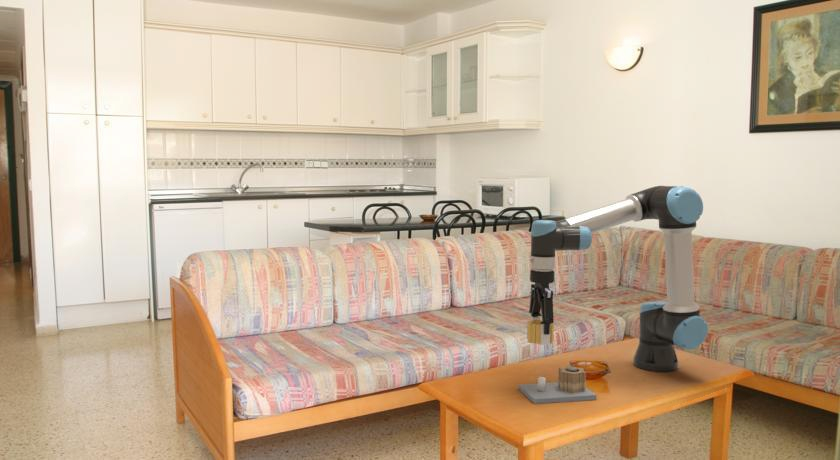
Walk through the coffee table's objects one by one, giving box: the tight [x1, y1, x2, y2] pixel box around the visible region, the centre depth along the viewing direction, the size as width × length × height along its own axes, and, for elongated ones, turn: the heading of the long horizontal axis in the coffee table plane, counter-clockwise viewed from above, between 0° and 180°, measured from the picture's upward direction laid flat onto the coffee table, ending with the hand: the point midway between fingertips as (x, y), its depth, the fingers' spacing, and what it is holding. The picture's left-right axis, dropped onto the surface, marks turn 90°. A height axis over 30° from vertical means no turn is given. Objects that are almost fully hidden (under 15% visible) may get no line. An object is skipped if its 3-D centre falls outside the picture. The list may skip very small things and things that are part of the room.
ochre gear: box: [526, 319, 555, 346], centre depth 216 cm, size 8×8×6 cm
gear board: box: [518, 366, 597, 405], centre depth 213 cm, size 20×14×8 cm
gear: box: [557, 365, 587, 393], centre depth 214 cm, size 8×8×6 cm
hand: (540, 340), depth 216 cm, fingers closed on ochre gear, 8 cm apart
